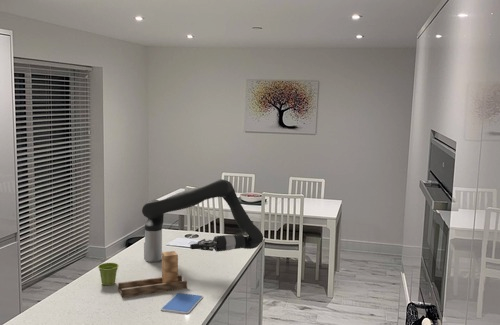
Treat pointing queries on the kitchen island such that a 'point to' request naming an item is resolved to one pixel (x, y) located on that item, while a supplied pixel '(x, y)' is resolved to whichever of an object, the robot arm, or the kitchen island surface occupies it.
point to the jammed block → (169, 267)
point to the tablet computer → (182, 303)
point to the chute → (149, 286)
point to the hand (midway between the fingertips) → (190, 246)
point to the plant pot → (108, 273)
